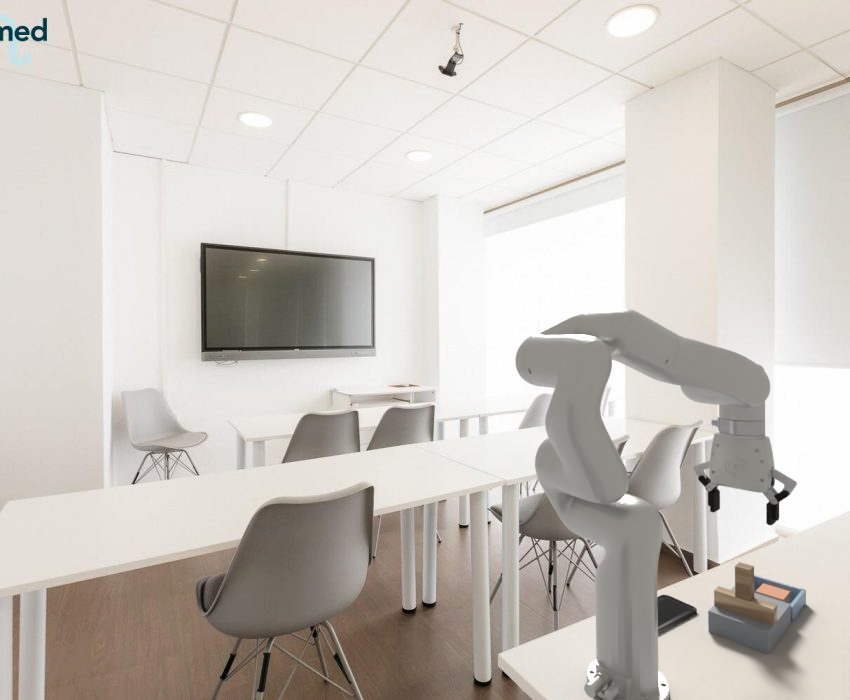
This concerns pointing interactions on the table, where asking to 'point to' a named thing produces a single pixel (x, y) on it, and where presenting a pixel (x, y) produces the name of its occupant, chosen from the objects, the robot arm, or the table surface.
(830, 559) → the table surface
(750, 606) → the scraper
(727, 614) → the gray rectangular block
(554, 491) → the robot arm
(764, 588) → the tile
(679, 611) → the phone
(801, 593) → the tray
